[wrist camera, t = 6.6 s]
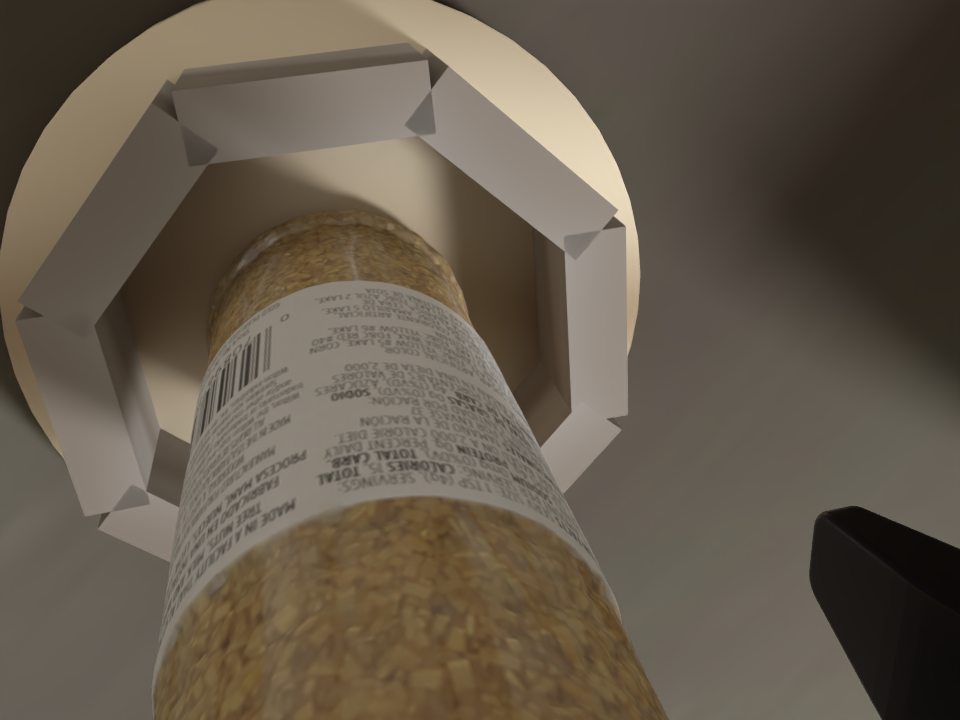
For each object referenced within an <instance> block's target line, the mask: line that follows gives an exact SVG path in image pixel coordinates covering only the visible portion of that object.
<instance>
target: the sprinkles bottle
mask: <svg viewBox="0 0 960 720" xmlns="http://www.w3.org/2000/svg"><path fill="white" fill-rule="evenodd" d="M206 342H207V351H208V357H209V360H208V366H207V372H206V374H205V377H204V379H203V382H202V384H201V388H200V392H199V395H198V400H197V405H196V411H195V416H194V422H193V429H192V436H191V443H190V449H189V455H188V461H187V468H186V473H185V479H184V484H183V489H182V495H181V500H180V506H179V511H178V517H177V523H176V529H175V535H174V541H173V547H172V554H171V561H170V569H169V577H168V584H167V591H166V597H165V604H164V610H163V616H162V623H161V629H160V636H159V642H158V649H157V655H156V661H155V668H154V675H153V683H152V690H151V694H152V707H153V720H669V719H668V717H667V715H666V713H665V711H664V709H663V707H662V705H661V703H660V701H659V699H658V697H657V695H656V693H655V691H654V689H653V687H652V685H651V683H650V681H649V680H648V678H647V677H646V675H645V670H644V669H643V667H642V665H641V663H640V661H639V659H638V657H637V655H636V653H635V650H634V648H633V645H632V643H631V641H630V639H629V636H628V634H627V633H626V631H625V629H624V627H623V626H622V624H621V616H620V611H619V608H618V605H617V602H616V599H615V596H614V594H613V592H612V590H611V588H610V586H609V584H608V582H607V580H606V578H605V576H604V574H603V572H602V570H601V568H600V566H599V564H598V562H597V560H596V558H595V556H594V554H593V552H592V550H591V548H590V546H589V544H588V542H587V540H586V538H585V536H584V534H583V533H582V531H581V529H580V527H579V525H578V523H577V521H576V519H575V517H574V515H573V513H572V511H571V509H570V507H569V505H568V503H567V502H566V500H565V498H564V496H563V494H562V492H561V490H560V488H559V486H558V484H557V482H556V480H555V478H554V476H553V474H552V472H551V469H550V467H549V465H548V463H547V461H546V459H545V457H544V455H543V453H542V451H541V449H540V447H539V445H538V443H537V441H536V439H535V437H534V435H533V433H532V431H531V429H530V427H529V425H528V423H527V421H526V419H525V417H524V415H523V413H522V411H521V409H520V407H519V405H518V404H517V402H516V400H515V398H514V396H513V394H512V393H511V391H510V389H509V387H508V385H507V383H506V381H505V379H504V377H503V375H502V373H501V371H500V369H499V367H498V365H497V363H496V362H495V360H494V358H493V356H492V354H491V353H490V351H489V349H488V348H487V346H486V344H485V342H484V341H483V340H482V339H481V337H480V336H479V335H478V334H477V332H476V331H475V329H474V327H473V325H472V323H471V321H470V319H469V316H468V310H467V306H466V302H465V299H464V296H463V292H462V289H461V288H460V286H459V285H458V283H457V281H456V279H455V276H454V274H453V272H452V270H451V268H450V266H449V264H448V262H447V261H446V259H445V258H444V256H443V255H441V254H440V253H439V252H438V251H437V250H435V249H434V248H433V247H431V246H430V245H429V244H428V243H427V242H426V241H425V240H424V239H423V238H422V237H421V236H420V235H418V234H417V233H415V232H413V231H412V230H410V229H408V228H406V227H404V226H402V225H401V224H399V223H397V222H396V221H394V220H391V219H388V218H385V217H381V216H377V215H373V214H369V213H365V212H362V211H358V210H348V211H323V212H318V213H313V214H310V215H305V216H299V217H296V218H293V219H290V220H289V221H287V222H285V223H283V224H280V225H278V226H275V227H273V228H271V229H269V230H268V231H266V232H265V233H263V234H261V235H260V236H258V237H256V238H255V239H254V240H253V241H252V242H251V243H250V244H249V245H248V246H247V247H246V249H245V250H244V251H243V252H242V253H241V254H239V255H238V256H237V257H236V258H235V259H234V260H233V262H232V263H231V265H230V267H229V269H228V271H227V273H226V274H225V275H224V277H223V278H222V279H221V280H220V282H219V283H218V285H217V287H216V289H215V292H214V295H213V297H212V300H211V306H210V312H209V316H208V319H207V325H206Z"/></svg>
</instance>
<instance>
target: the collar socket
mask: <svg viewBox="0 0 960 720" xmlns="http://www.w3.org/2000/svg"><path fill="white" fill-rule="evenodd" d="M348 210H358V211H362V212H365V213H369V214H373V215H377V216H381V217H385V218H388V219H391V220H394V221H396V222H397V223H399V224H401V225H402V226H404V227H406V228H408V229H410V230H412V231H413V232H415V233H417V234H418V235H420V236H421V237H422V238H423V239H424V240H425V241H426V242H427V243H428V244H429V245H430V246H431V247H433V248H434V249H435V250H437V251H438V252H439V253H440V254H441V255H443V256H444V258H445V259H446V261H447V262H448V264H449V266H450V268H451V270H452V272H453V274H454V276H455V279H456V281H457V283H458V285H459V286H460V288H461V289H462V292H463V296H464V299H465V302H466V306H467V310H468V316H469V319H470V321H471V323H472V325H473V327H474V329H475V331H476V332H477V334H478V335H479V336H480V337H481V339H482V340H483V341H484V342H485V344H486V346H487V348H488V349H489V351H490V353H491V354H492V356H493V358H494V360H495V362H496V363H497V365H498V367H499V369H500V371H501V373H502V375H503V377H504V379H505V381H506V383H507V385H508V387H509V389H510V391H511V393H512V394H513V396H514V398H515V400H516V402H517V404H518V405H519V407H520V409H521V411H522V413H523V415H524V417H525V419H526V421H527V423H528V425H529V427H530V429H531V431H532V433H533V435H534V437H535V439H536V441H537V443H538V445H539V447H540V449H541V451H542V453H543V455H544V457H545V459H546V461H547V463H548V465H549V467H550V469H551V472H552V474H553V476H554V478H555V480H556V482H557V484H558V486H559V488H560V490H561V492H562V494H564V493H565V491H566V490H567V489H568V488H569V487H570V486H571V485H572V484H573V483H574V482H575V480H576V479H577V478H578V477H579V476H580V475H581V474H582V473H583V472H584V471H585V469H586V468H587V467H588V466H589V465H590V464H591V463H592V462H593V461H594V460H595V459H596V457H597V456H598V455H599V454H600V453H601V452H602V451H603V450H604V449H605V448H606V446H607V445H608V444H609V443H610V442H611V441H612V440H613V439H614V438H615V437H616V435H617V434H618V433H619V432H620V431H621V430H622V429H621V428H620V426H619V425H618V424H617V422H616V421H615V419H614V418H613V417H618V416H624V415H628V371H627V355H628V352H629V349H630V346H631V343H632V338H633V333H634V328H635V322H636V317H637V312H638V302H639V286H640V262H639V248H638V236H637V231H636V227H635V222H634V217H633V212H632V208H631V203H630V199H629V196H628V194H627V191H626V188H625V185H624V183H623V180H622V177H621V174H620V171H619V169H618V166H617V164H616V162H615V160H614V158H613V156H612V154H611V152H610V150H609V148H608V146H607V145H606V143H605V141H604V139H603V137H602V135H601V133H600V131H599V129H598V128H597V127H596V125H595V124H594V123H593V121H592V120H591V118H590V117H589V116H588V114H587V113H586V111H585V110H584V109H583V107H582V106H581V105H580V103H579V102H578V100H577V99H576V98H575V96H574V95H573V94H572V93H571V92H570V91H569V90H568V89H567V88H566V87H565V86H564V85H563V84H562V83H561V82H560V81H559V80H558V79H557V78H556V77H555V76H554V75H553V74H552V72H551V71H550V70H549V69H548V68H547V67H546V66H545V65H543V64H542V63H541V62H539V61H538V60H537V59H536V58H534V57H533V56H532V55H530V54H529V53H528V52H527V51H525V50H524V49H523V48H521V47H520V46H519V45H518V44H516V43H515V42H514V41H513V40H511V39H510V38H508V37H506V36H504V35H503V34H501V33H499V32H497V31H496V30H494V29H492V28H490V27H489V26H487V25H485V24H483V23H482V22H480V21H478V20H477V19H475V18H473V17H471V16H469V15H467V14H465V13H463V12H460V11H458V10H455V9H453V8H450V7H448V6H446V5H443V4H441V3H438V2H436V1H433V0H206V1H203V2H200V3H197V4H194V5H192V6H190V7H188V8H186V9H184V10H182V11H180V12H178V13H176V14H174V15H172V16H170V17H168V18H166V19H164V20H162V21H160V22H158V23H156V24H154V25H153V26H152V27H150V28H149V29H147V30H146V31H145V32H143V33H142V34H140V35H139V36H137V37H136V38H135V39H133V40H132V41H130V42H129V43H127V44H126V45H125V46H123V47H122V48H120V49H119V50H118V51H116V52H115V53H114V54H113V55H111V56H110V57H109V58H108V59H107V60H106V61H105V62H104V63H102V64H101V65H100V66H99V67H98V68H97V69H96V70H95V71H94V72H93V73H92V74H91V75H90V76H89V77H88V78H87V79H86V80H85V81H84V82H83V83H82V84H81V85H79V86H78V87H77V88H76V89H75V90H74V91H73V92H72V94H71V95H70V96H69V97H68V99H67V100H66V101H65V103H64V104H63V105H62V107H61V108H60V109H59V111H58V112H57V113H56V114H55V116H54V117H53V118H52V120H51V121H50V122H49V124H48V125H47V126H46V127H45V129H44V130H43V132H42V134H41V136H40V138H39V140H38V142H37V143H36V145H35V147H34V149H33V151H32V153H31V154H30V156H29V158H28V160H27V162H26V164H25V165H24V167H23V169H22V172H21V175H20V178H19V180H18V183H17V186H16V189H15V192H14V195H13V197H12V200H11V203H10V206H9V209H8V212H7V218H6V223H5V228H4V234H3V239H2V245H1V250H0V309H1V317H2V324H3V332H4V338H5V342H6V345H7V349H8V352H9V356H10V359H11V362H12V366H13V369H14V373H15V376H16V378H17V381H18V383H19V385H20V387H21V389H22V392H23V394H24V396H25V398H26V400H27V403H28V405H29V407H30V409H31V411H32V413H33V415H34V416H35V418H36V420H37V421H38V423H39V424H40V426H41V427H42V429H43V431H44V432H45V434H46V435H47V437H48V438H49V440H50V442H51V443H52V445H53V446H54V447H55V448H56V450H57V451H58V452H59V453H60V454H61V456H62V457H63V458H64V459H65V462H66V465H67V468H68V471H69V473H70V476H71V479H72V482H73V485H74V487H75V490H76V493H77V496H78V499H79V501H80V504H81V507H82V510H83V512H84V515H85V516H91V515H96V514H101V513H102V516H101V519H100V523H99V526H98V530H100V531H103V532H105V533H107V534H109V535H111V536H114V537H116V538H118V539H120V540H122V541H124V542H127V543H129V544H131V545H133V546H135V547H138V548H140V549H142V550H144V551H146V552H149V553H151V554H153V555H155V556H157V557H160V558H162V559H164V560H166V561H168V562H170V561H171V554H172V547H173V541H174V535H175V529H176V523H177V517H178V511H179V506H180V500H181V495H182V489H183V484H184V479H185V473H186V468H187V461H188V455H189V449H190V443H191V436H192V429H193V422H194V416H195V411H196V405H197V400H198V395H199V392H200V388H201V384H202V382H203V379H204V377H205V374H206V372H207V366H208V360H209V357H208V351H207V342H206V325H207V319H208V316H209V312H210V306H211V300H212V297H213V295H214V292H215V289H216V287H217V285H218V283H219V282H220V280H221V279H222V278H223V277H224V275H225V274H226V273H227V271H228V269H229V267H230V265H231V263H232V262H233V260H234V259H235V258H236V257H237V256H238V255H239V254H241V253H242V252H243V251H244V250H245V249H246V247H247V246H248V245H249V244H250V243H251V242H252V241H253V240H254V239H255V238H256V237H258V236H260V235H261V234H263V233H265V232H266V231H268V230H269V229H271V228H273V227H275V226H278V225H280V224H283V223H285V222H287V221H289V220H290V219H293V218H296V217H299V216H305V215H310V214H313V213H318V212H323V211H348Z"/></svg>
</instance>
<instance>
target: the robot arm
mask: <svg viewBox="0 0 960 720" xmlns="http://www.w3.org/2000/svg"><path fill="white" fill-rule="evenodd" d="M809 576H810V583H811V587H812V590H813V593H814V595H815V597H816V599H817V601H818V603H819V605H820V607H821V609H822V610H823V612H824V614H825V616H826V618H827V620H828V622H829V623H830V625H831V627H832V629H833V631H834V633H835V635H836V636H837V638H838V640H839V642H840V644H841V646H842V648H843V649H844V651H845V653H846V655H847V657H848V659H849V661H850V662H851V664H852V666H853V668H854V670H855V672H856V674H857V675H858V677H859V679H860V681H861V683H862V685H863V687H864V688H865V690H866V692H867V694H868V696H869V698H870V700H871V701H872V703H873V705H874V707H875V708H876V710H877V712H878V714H879V715H880V717H881V719H882V720H960V549H959V548H956V547H954V546H952V545H949V544H947V543H945V542H942V541H940V540H937V539H935V538H933V537H930V536H928V535H926V534H923V533H921V532H918V531H916V530H914V529H911V528H909V527H907V526H904V525H902V524H899V523H897V522H895V521H892V520H890V519H888V518H885V517H883V516H880V515H878V514H876V513H873V512H871V511H869V510H866V509H864V508H861V507H858V506H848V507H843V508H839V509H834V510H829V511H825V512H823V513H821V514H819V515H818V517H817V519H816V520H815V525H814V532H813V542H812V551H811V560H810V570H809Z"/></svg>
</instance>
